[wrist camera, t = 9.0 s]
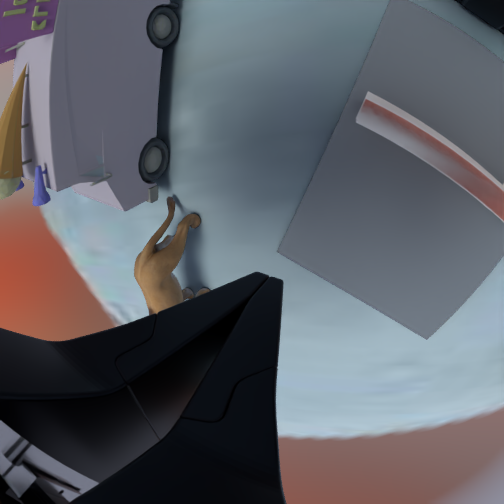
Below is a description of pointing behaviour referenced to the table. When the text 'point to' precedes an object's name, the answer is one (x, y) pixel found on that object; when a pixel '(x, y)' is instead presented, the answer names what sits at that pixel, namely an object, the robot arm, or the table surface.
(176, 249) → the lion figurine
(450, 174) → the gate panel
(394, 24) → the board
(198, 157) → the table surface
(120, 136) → the toy vehicle
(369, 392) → the table surface
